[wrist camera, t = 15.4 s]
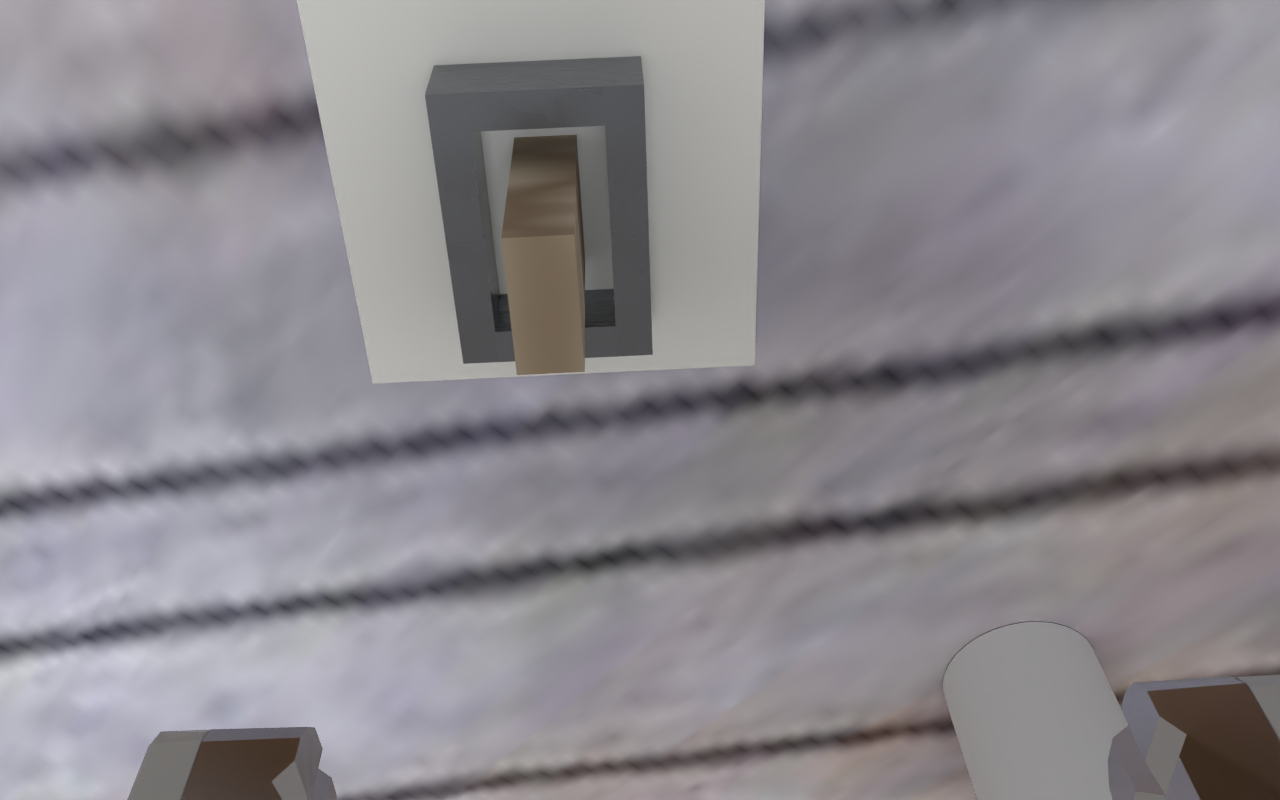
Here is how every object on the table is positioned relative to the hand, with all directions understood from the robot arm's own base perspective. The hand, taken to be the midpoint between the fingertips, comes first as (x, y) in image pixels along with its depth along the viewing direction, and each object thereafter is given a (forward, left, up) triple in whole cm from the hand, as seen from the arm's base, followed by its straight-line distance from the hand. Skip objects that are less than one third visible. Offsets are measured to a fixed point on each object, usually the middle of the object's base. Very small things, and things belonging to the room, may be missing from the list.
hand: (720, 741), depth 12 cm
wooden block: (+3, +7, -28) cm, 29 cm away
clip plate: (+3, +7, -29) cm, 30 cm away
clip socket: (+3, +7, -28) cm, 29 cm away
